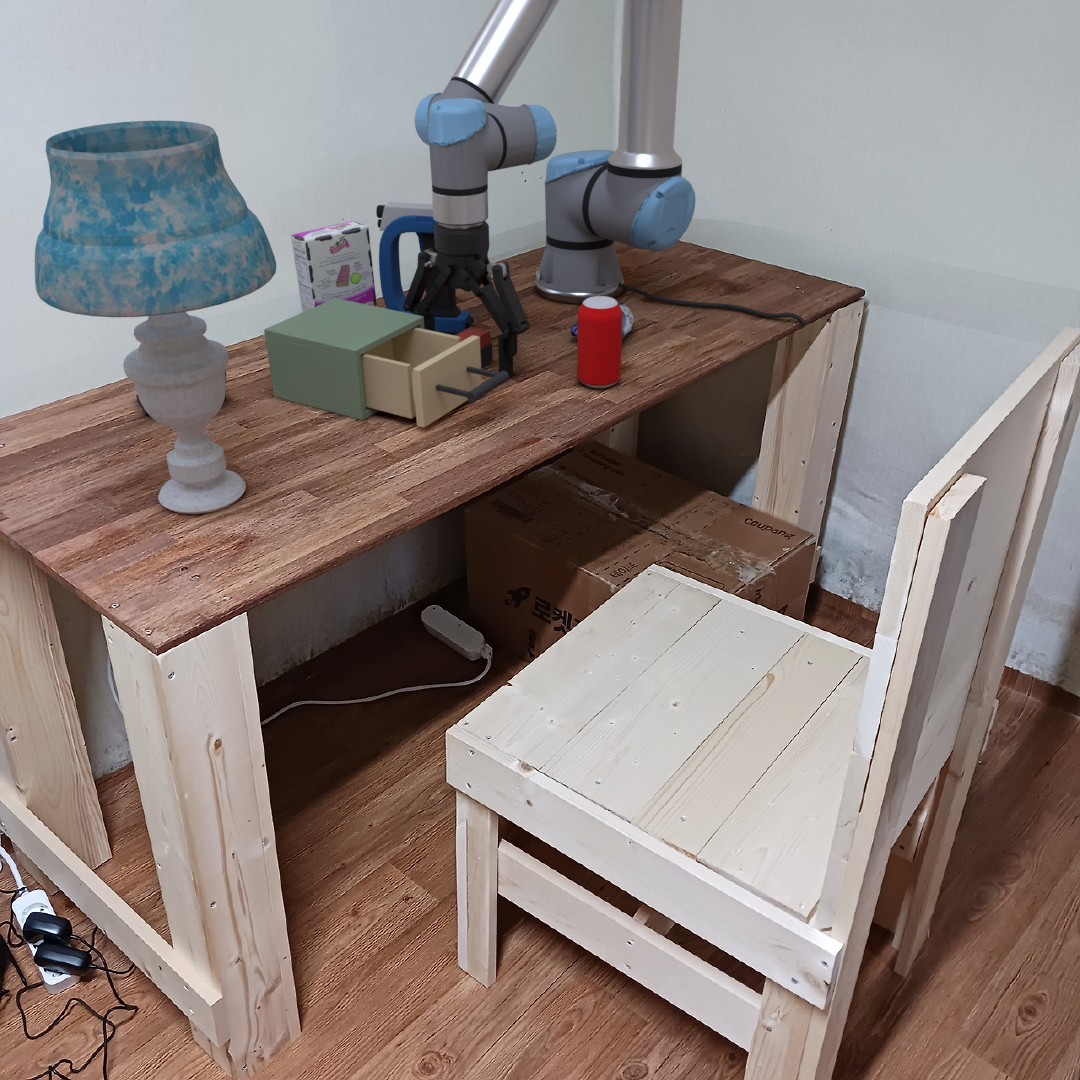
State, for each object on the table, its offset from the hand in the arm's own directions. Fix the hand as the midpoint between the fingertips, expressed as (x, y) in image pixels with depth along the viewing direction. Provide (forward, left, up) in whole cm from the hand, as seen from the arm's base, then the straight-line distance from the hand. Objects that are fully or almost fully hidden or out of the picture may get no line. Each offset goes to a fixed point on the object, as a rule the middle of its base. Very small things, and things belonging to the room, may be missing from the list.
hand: (467, 367), depth 157 cm
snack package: (-19, -16, 0) cm, 25 cm away
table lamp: (+21, +42, 0) cm, 48 cm away
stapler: (0, 0, 0) cm, 0 cm away
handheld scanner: (+9, -16, 0) cm, 18 cm away
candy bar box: (+23, -11, 0) cm, 26 cm away
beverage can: (-20, +2, 0) cm, 20 cm away
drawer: (+2, +15, +1) cm, 15 cm away
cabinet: (+14, +10, 0) cm, 17 cm away
